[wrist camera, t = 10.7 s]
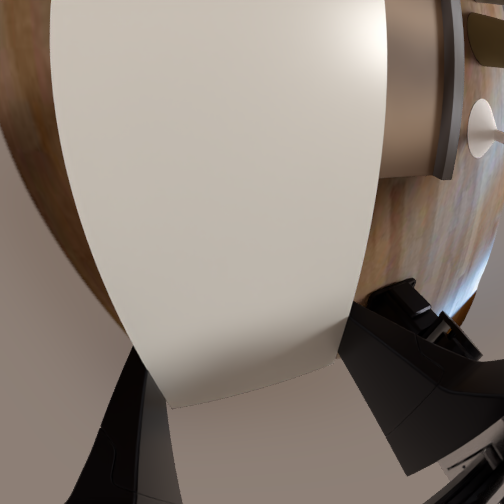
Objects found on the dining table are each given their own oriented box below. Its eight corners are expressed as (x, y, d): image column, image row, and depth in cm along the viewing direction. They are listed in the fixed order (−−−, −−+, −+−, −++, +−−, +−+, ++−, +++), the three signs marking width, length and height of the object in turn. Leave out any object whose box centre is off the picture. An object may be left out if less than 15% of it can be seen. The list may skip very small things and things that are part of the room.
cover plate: (315, 335, 11) (333, 363, 10) (166, 374, 9) (171, 409, 8) (338, -47, 3) (375, -62, 2) (80, -47, 2) (64, -74, 1)
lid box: (410, 155, 18) (458, 179, 14) (281, 160, 15) (325, 190, 12) (415, 1, 11) (466, -1, 7) (275, -45, 8) (319, -78, 4)
